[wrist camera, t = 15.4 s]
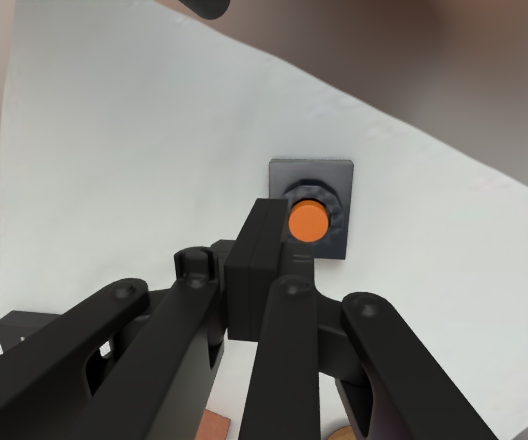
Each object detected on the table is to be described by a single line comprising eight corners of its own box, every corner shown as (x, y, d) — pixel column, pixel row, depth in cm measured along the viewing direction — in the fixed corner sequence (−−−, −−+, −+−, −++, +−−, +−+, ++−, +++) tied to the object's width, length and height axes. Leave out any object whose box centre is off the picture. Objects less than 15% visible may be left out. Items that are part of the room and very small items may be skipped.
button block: (271, 158, 33) (266, 166, 29) (351, 159, 32) (356, 167, 28) (271, 247, 36) (266, 263, 33) (343, 250, 35) (347, 268, 32)
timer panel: (10, 310, 45) (-11, 324, 43) (65, 315, 44) (48, 330, 41) (32, 375, 50) (14, 392, 47) (83, 381, 48) (68, 399, 46)
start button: (289, 199, 30) (288, 204, 29) (328, 200, 30) (329, 206, 28) (289, 234, 32) (288, 241, 30) (326, 236, 31) (327, 243, 30)
